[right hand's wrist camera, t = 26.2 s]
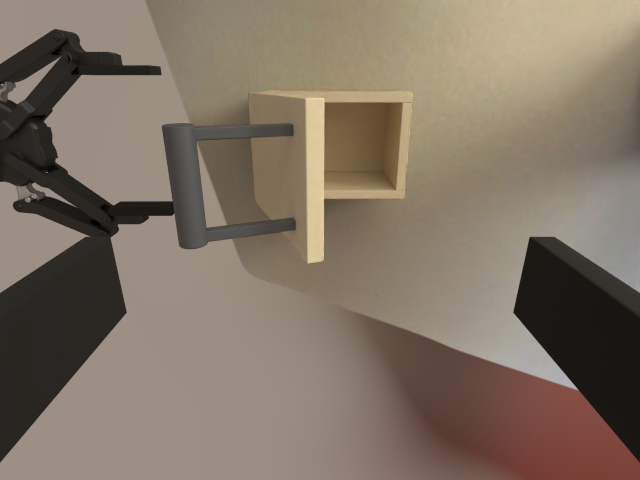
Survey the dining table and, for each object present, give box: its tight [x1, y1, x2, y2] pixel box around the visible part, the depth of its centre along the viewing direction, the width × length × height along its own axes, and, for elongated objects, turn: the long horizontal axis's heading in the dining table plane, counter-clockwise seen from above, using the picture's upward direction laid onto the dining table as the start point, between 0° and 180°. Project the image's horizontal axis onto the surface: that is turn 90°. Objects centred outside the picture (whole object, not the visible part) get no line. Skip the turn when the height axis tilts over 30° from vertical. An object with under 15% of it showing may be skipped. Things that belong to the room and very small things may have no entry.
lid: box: [162, 92, 324, 264], centre depth 28 cm, size 15×10×8 cm
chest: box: [261, 90, 413, 199], centre depth 41 cm, size 14×10×10 cm
